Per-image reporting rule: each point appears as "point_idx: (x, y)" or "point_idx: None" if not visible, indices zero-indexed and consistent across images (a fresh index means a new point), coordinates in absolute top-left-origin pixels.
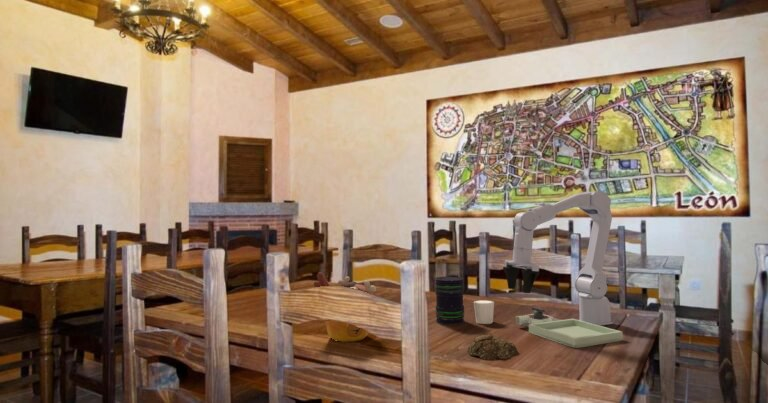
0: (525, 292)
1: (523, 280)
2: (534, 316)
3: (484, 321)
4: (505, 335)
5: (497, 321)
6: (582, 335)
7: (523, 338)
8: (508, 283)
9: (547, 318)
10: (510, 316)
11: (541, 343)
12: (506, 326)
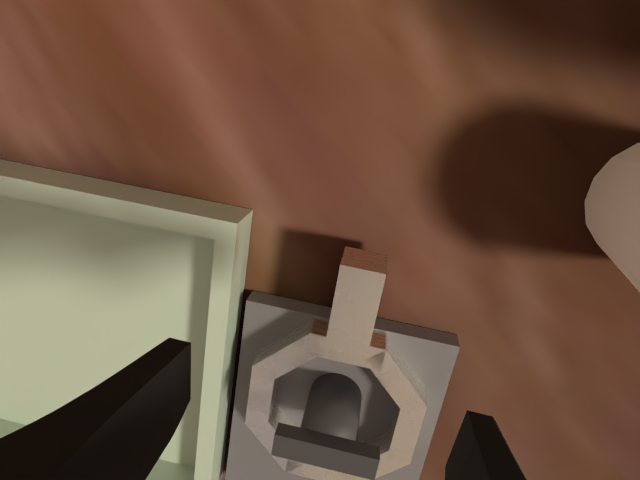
0: (161, 343)
1: (77, 440)
2: (341, 397)
3: (619, 159)
4: (286, 32)
5: (587, 287)
6: (32, 330)
7: (173, 75)
8: (496, 464)
9: (268, 416)
10: (610, 448)
11: (48, 75)
12: (448, 225)
